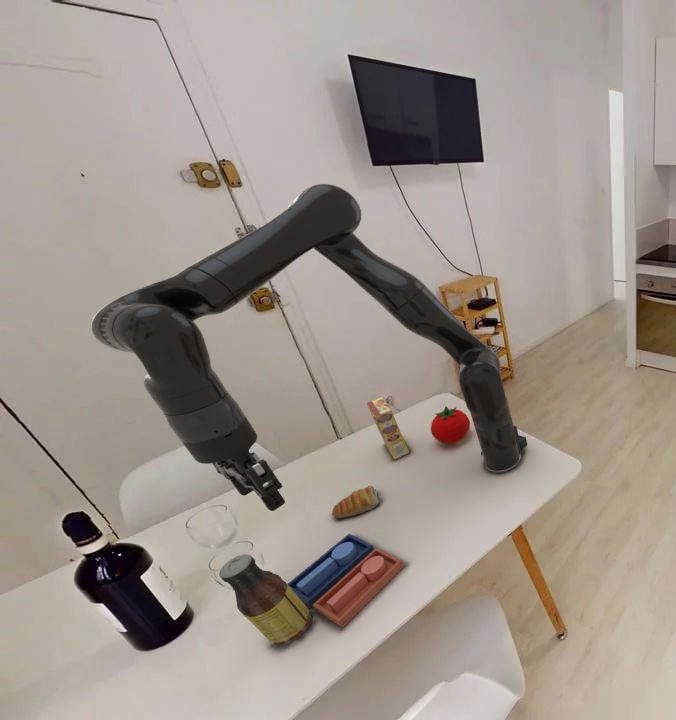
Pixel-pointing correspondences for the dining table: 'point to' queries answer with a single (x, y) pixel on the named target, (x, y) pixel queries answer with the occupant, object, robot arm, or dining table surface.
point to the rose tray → (364, 595)
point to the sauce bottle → (266, 600)
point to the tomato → (450, 425)
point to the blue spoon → (328, 567)
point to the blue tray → (335, 577)
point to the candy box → (388, 427)
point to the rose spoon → (358, 582)
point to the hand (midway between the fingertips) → (263, 499)
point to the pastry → (356, 503)
